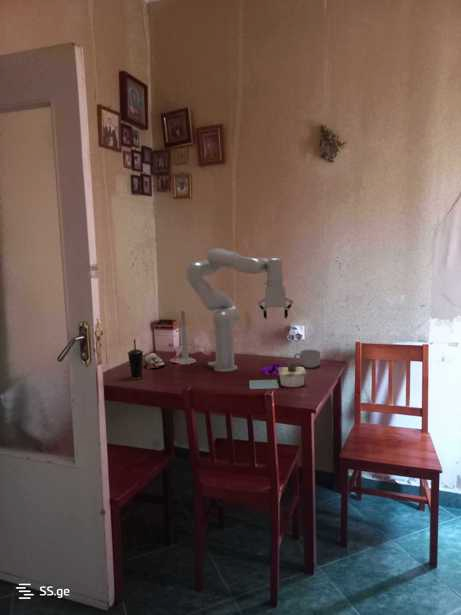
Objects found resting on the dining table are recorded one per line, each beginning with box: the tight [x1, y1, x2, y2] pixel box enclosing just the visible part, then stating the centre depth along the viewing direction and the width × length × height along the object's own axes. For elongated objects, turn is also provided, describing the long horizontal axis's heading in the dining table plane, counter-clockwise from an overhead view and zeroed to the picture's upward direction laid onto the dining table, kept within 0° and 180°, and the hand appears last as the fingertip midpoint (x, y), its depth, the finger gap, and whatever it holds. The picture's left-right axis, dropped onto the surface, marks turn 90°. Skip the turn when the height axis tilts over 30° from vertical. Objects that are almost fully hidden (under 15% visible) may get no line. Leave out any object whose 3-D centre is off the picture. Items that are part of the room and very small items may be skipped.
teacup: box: [293, 348, 322, 369], centre depth 242 cm, size 14×11×8 cm
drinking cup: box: [127, 339, 144, 379], centre depth 231 cm, size 8×8×20 cm
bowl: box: [279, 376, 305, 388], centre depth 211 cm, size 10×10×6 cm
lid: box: [278, 360, 308, 377], centre depth 210 cm, size 12×12×5 cm
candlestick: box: [176, 310, 197, 364], centre depth 258 cm, size 13×13×30 cm
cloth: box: [259, 362, 281, 377], centre depth 231 cm, size 22×19×6 cm
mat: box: [248, 379, 280, 390], centre depth 212 cm, size 13×13×1 cm
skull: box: [143, 352, 165, 367], centre depth 254 cm, size 12×10×10 cm
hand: (275, 318), depth 226 cm, fingers open, 9 cm apart
